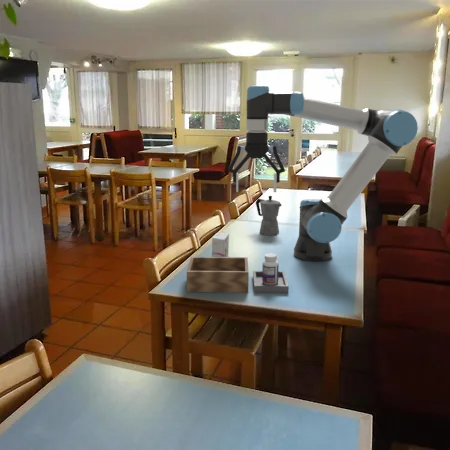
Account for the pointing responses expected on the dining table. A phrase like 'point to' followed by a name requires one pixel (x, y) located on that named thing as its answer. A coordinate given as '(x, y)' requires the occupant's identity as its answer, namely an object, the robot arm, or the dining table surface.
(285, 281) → the tray
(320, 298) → the dining table surface
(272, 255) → the pill bottle
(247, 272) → the caddy
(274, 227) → the coffeepot
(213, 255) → the ink box
